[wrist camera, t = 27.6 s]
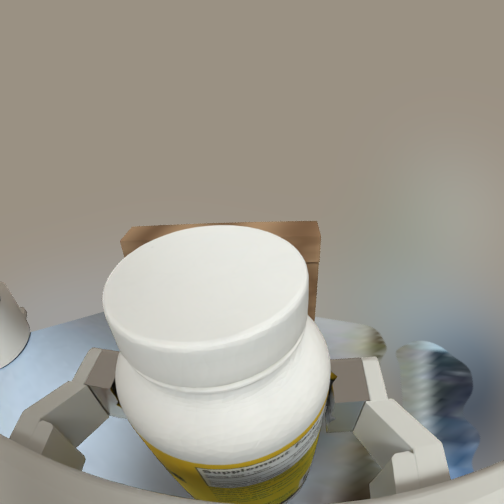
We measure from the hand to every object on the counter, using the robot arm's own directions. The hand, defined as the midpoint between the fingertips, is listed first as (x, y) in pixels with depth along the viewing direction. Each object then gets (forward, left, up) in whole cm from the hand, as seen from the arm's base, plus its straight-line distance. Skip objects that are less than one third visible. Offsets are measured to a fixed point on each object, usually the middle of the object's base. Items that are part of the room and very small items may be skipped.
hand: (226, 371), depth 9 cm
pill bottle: (0, 0, -7) cm, 7 cm away
